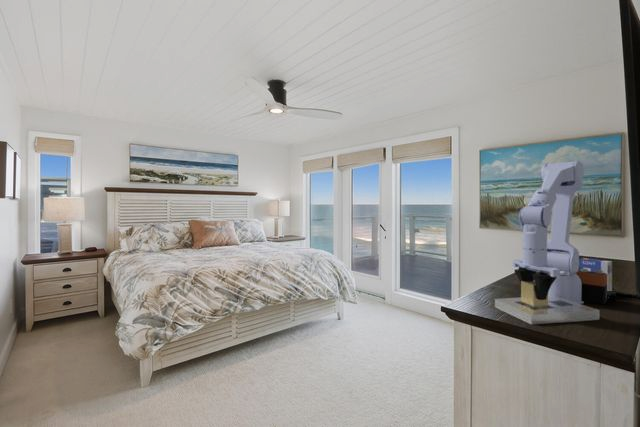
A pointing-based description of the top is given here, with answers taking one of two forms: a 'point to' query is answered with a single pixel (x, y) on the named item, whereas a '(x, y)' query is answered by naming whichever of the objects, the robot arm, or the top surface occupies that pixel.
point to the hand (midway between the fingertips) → (534, 296)
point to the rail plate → (547, 310)
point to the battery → (593, 286)
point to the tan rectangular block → (531, 294)
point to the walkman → (598, 268)
